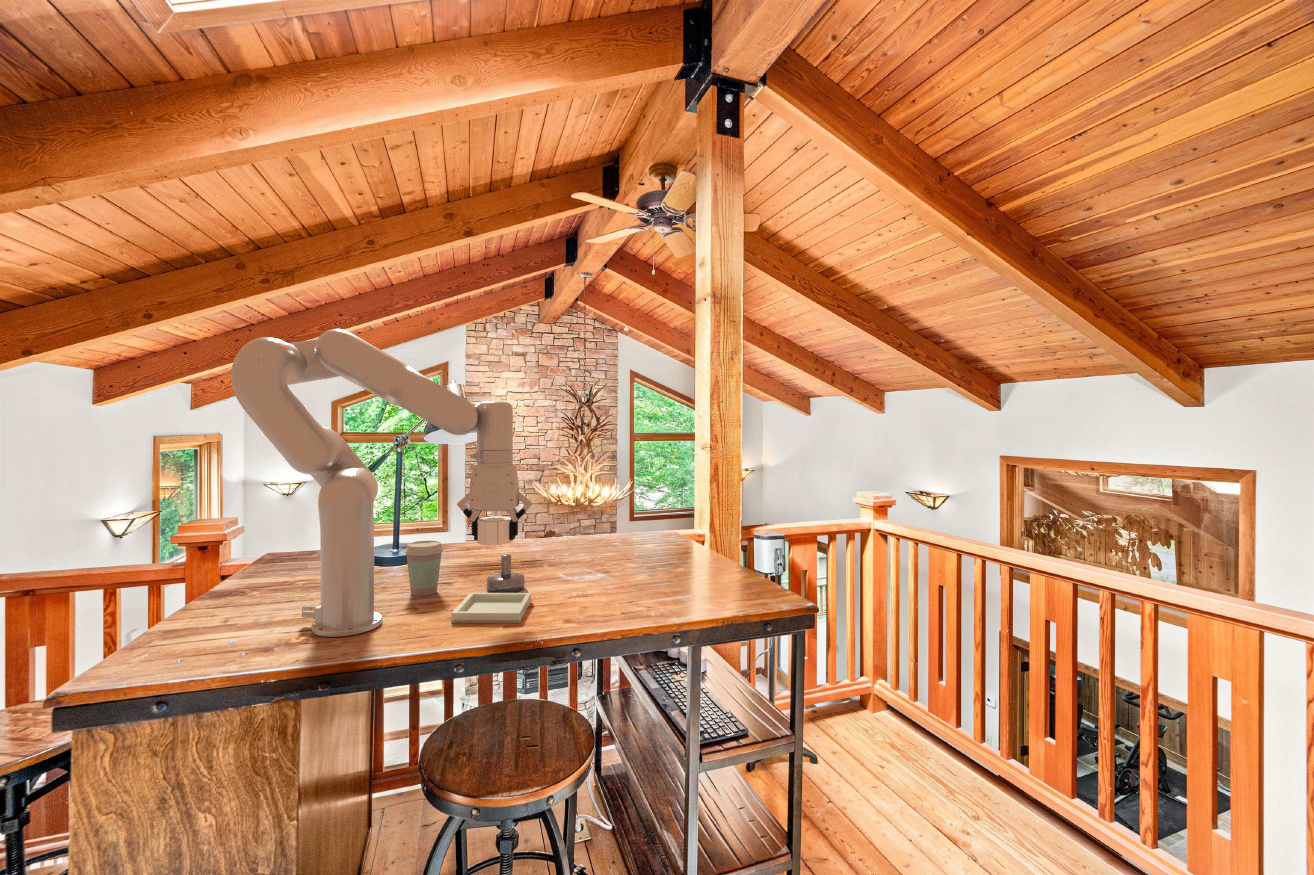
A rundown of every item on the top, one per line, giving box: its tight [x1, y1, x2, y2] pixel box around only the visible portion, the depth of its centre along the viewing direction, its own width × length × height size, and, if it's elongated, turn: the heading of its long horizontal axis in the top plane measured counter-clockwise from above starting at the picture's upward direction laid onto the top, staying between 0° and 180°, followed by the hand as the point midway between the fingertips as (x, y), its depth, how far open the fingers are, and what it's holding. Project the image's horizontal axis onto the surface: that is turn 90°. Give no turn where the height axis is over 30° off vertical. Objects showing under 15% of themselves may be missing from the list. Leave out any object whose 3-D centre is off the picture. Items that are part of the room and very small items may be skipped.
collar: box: [476, 515, 513, 546], centre depth 126 cm, size 7×7×5 cm
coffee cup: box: [404, 539, 444, 597], centre depth 140 cm, size 8×8×12 cm
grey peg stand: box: [486, 553, 525, 593], centre depth 143 cm, size 9×9×8 cm
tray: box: [450, 592, 532, 624], centre depth 127 cm, size 14×14×2 cm
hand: (495, 538), depth 126 cm, fingers closed on collar, 7 cm apart
